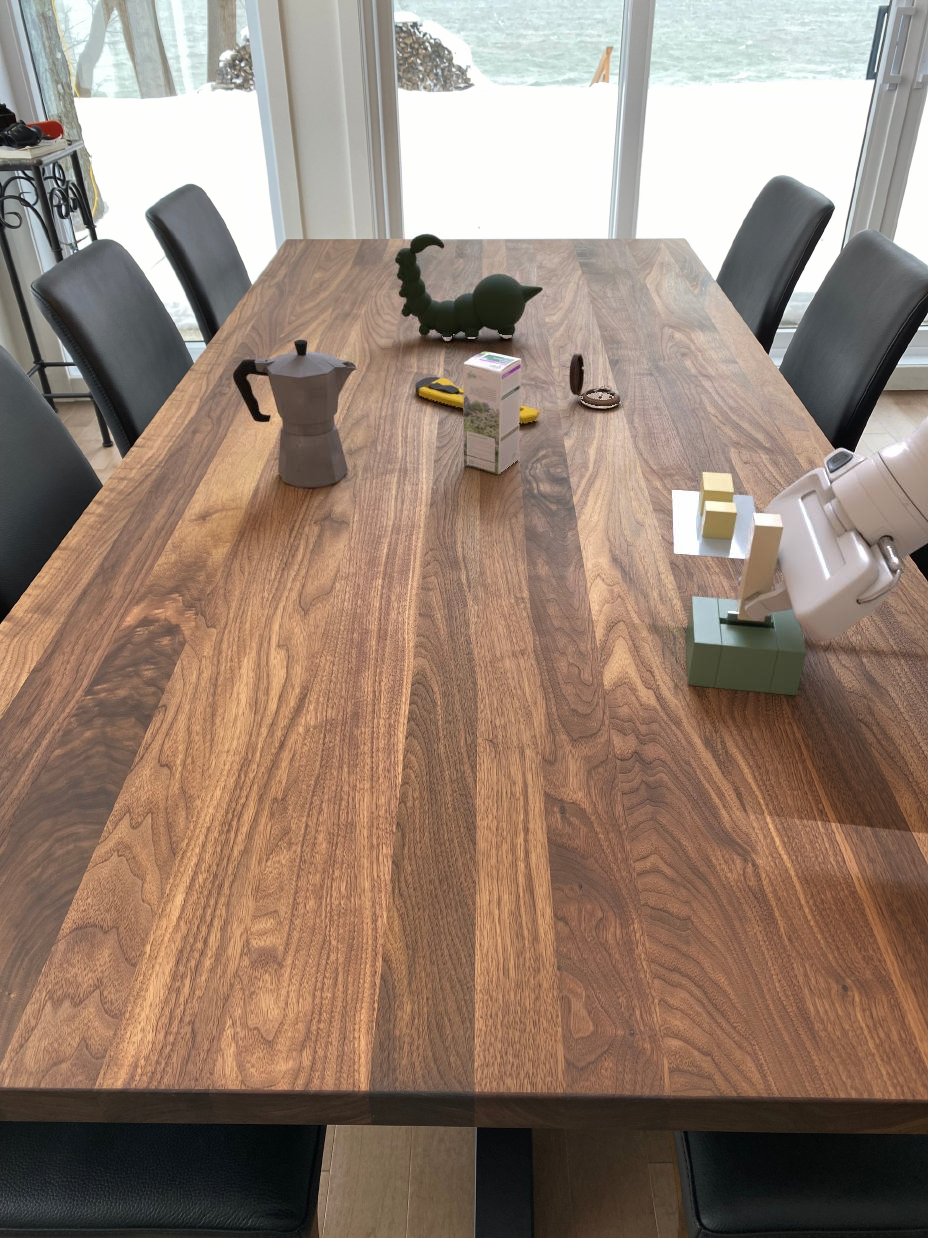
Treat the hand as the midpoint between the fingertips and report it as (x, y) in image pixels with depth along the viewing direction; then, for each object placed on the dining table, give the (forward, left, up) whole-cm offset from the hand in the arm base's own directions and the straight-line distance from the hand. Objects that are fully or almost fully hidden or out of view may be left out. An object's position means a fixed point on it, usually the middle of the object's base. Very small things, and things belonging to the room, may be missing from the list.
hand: (745, 600), depth 91 cm
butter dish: (0, -27, -7) cm, 28 cm away
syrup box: (+29, -41, -8) cm, 51 cm away
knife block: (-1, 0, -7) cm, 8 cm away
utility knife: (+34, -61, -8) cm, 70 cm away
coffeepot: (+53, -34, -8) cm, 64 cm away
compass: (+16, -66, -8) cm, 68 cm away
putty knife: (-1, 0, -7) cm, 7 cm away
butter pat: (0, -25, -6) cm, 25 cm away
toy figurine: (+40, -92, -8) cm, 101 cm away
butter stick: (0, -31, -6) cm, 32 cm away
